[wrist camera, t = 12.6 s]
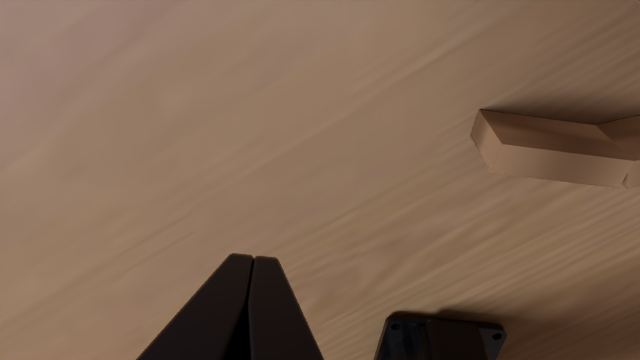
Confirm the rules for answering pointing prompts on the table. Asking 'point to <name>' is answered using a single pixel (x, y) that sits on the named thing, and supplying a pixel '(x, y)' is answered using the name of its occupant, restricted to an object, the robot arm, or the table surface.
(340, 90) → the table surface
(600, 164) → the wooden u-shaped frame
